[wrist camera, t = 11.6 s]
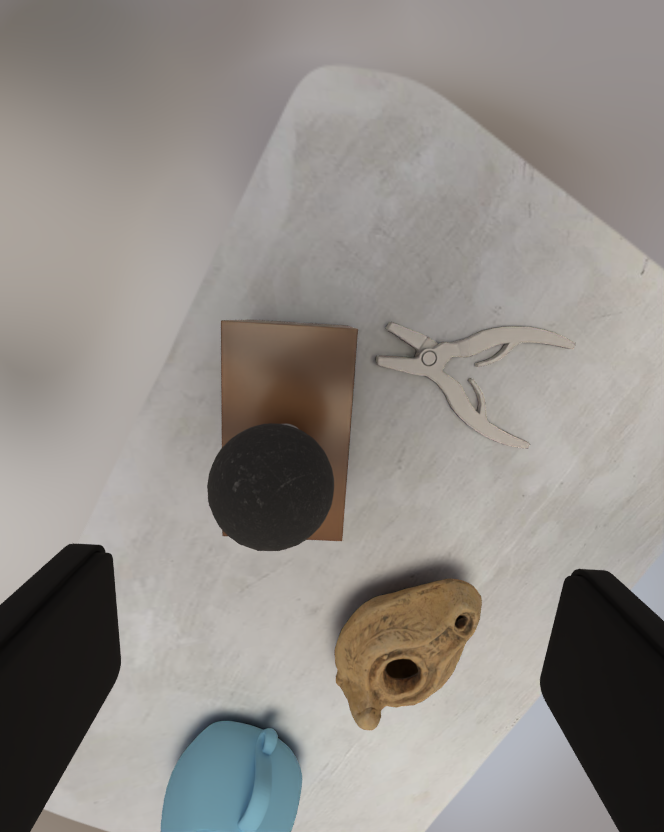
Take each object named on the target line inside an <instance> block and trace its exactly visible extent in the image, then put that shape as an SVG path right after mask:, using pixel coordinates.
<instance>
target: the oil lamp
mask: <svg viewBox="0 0 664 832" xmlns="http://www.w3.org/2000/svg"><path fill="white" fill-rule="evenodd" d="M481 606H482V600H481V596H480V594H479V593H478V591H477V590H476V589H475V587H474V586H472V585H471V584H469V583H467V582H465V581H463V580H458V579H444V580H439V581H435V582H431V583H427V584H423V585H419V586H415V587H411V588H407V589H403V590H400V591H397V592H394V593H390V594H385V595H380V596H377V597H374V598H372V599H370V600H369V601H367V602H365V603H364V604H363V605H361V606H360V607H359V608H358V609H357V610H356V611H355V612H354V613H353V615H352V616H351V617H350V618H349V620H348V621H347V623H346V624H345V625H344V627H343V629H342V630H341V633H340V635H339V638H338V640H337V644H336V647H335V663H336V667H337V669H338V671H337V675H336V683H337V685H338V686H340V688H341V689H342V691H343V692H344V695H345V697H346V698H347V700H348V703H349V707H350V711H351V713H352V716H353V718H354V720H355V722H356V723H357V725H358V726H359V727H360V728H362V729H364V730H374V729H375V728H376V727H377V725H378V723H379V721H380V718H381V710H382V709H383V708H384V707H385V706H390V707H400V706H409V705H415V704H417V703H420V702H422V701H424V700H425V699H427V698H428V697H429V696H430V695H432V694H433V693H435V692H436V691H437V690H439V689H440V688H441V687H442V686H443V685H444V684H445V683H446V682H447V680H448V679H449V678H450V676H451V675H452V673H453V672H454V670H455V668H456V665H457V663H458V661H459V659H460V656H461V654H462V651H463V649H464V646H465V644H466V642H467V641H468V639H469V638H470V637H471V636H472V635H473V634H474V632H475V630H476V628H477V625H478V623H479V620H480V613H481Z"/></svg>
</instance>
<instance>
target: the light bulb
mask: <svg viewBox="0 0 664 832" xmlns="http://www.w3.org/2000/svg"><path fill="white" fill-rule="evenodd" d="M207 488H208V502H209V506H210V508H211V510H212V513H213V515H214V518H215V520H216V521H217V523H218V525H219V527H220V528H221V529H222V530H223V531H224V532H225V534H227V535H228V536H229V537H230V538H232V539H233V540H235V541H236V542H237V543H239V544H241V545H243V546H246V547H249V548H252V549H255V550H257V551H280V550H284V549H287V548H290V547H293V546H296V545H299V544H300V543H302V542H303V541H305V540H306V539H308V538H309V537H311V536H312V535H313V534H314V533H315V532H316V531H317V530H318V528H319V527H320V526H321V525H322V523H323V522H324V520H325V519H326V516H327V514H328V512H329V510H330V508H331V505H332V501H333V494H334V476H333V470H332V467H331V464H330V462H329V460H328V457H327V455H326V453H325V451H324V450H323V449H322V447H321V446H320V445H319V444H318V443H317V442H316V440H315V439H314V438H312V437H311V436H309V435H308V434H306V433H305V432H304V431H302V430H300V429H298V428H297V427H296V426H293V425H291V424H272V423H269V424H261V425H257V426H254V427H250V428H248V429H246V430H244V431H242V432H240V433H239V434H237V435H236V436H234V437H233V438H231V439H230V440H229V441H228V442H227V443H226V444H225V445H224V446H223V447H222V449H221V450H220V452H219V453H218V455H217V456H216V458H215V460H214V462H213V464H212V467H211V470H210V474H209V479H208V485H207Z"/></svg>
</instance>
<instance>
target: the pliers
mask: <svg viewBox="0 0 664 832" xmlns="http://www.w3.org/2000/svg"><path fill="white" fill-rule="evenodd" d="M385 329H387V330H388V331H390V332H391V333H393V334H394V335H396V336H397V337H399V338H400V339H402V340H403V341H404V342H406V343H407V344H409V345H410V346H412V347H413V348H415V350H416V351H417V352H416V354H415V357H394V356H376V364H377V365H379V366H383V367H387V368H391V369H395V370H398V371H402V372H406V373H410V374H414V375H420V376H427V377H428V378H430V379H431V380H433V381H434V382H436V383H437V385H438V386H439V387H440V388H441V390H442V391H443V392H444V394H445V396H446V398H447V400H448V402H449V405H450V407H451V408H452V409H453V410H454V412H455V413H456V414H457V415H458V416H459V417H460V418H461V419H462V420H463V421H464V422H465V423H466V424H468V425H469V426H470V427H472V428H473V429H474V430H476V431H477V432H479V433H480V434H482V435H484V436H485V437H487V438H489V439H491V440H494V441H496V442H499V443H502V444H504V445H508V446H513V447H518V448H526V449H528V448H529V445H530V443H528V442H526V441H524V440H522V439H519V438H517V437H515V436H513V435H511V434H509V433H507V432H505V431H503V430H501V429H499V428H497V427H496V426H494V425H493V424H491V423H490V422H489V421H488V420H487V417H486V403H485V399H484V395H483V393H482V391H481V390H480V388H479V386H478V385H477V384H476V382H475V381H474V380H473V379H471V378H469V379H468V381H469V382H470V384H471V385H472V386H473V388H474V390H475V392H476V394H477V398H478V409H477V411H476V410H475V409H474V408H473V407H472V405H471V403H470V401H469V400H468V398H467V396H466V394H465V392H464V390H463V388H462V386H461V384H460V383H459V382H458V381H456V380H455V379H453V378H452V377H450V376H449V375H447V374H446V373H444V372H443V368H444V367H445V365H446V364H447V363H448V361H449V360H450V359H451V357H471V356H473V355H475V354H477V353H480V352H482V351H484V350H486V349H489V348H491V347H494V346H496V345H499V344H504V346H503V347H502V349H501V350H500V351H499V352H498V353H497V354H495V355H494V356H493V357H491V358H489V359H487V360H484V361H481V362H477V363H475V366H476V367H481V366H485V365H489V364H491V363H494V362H496V361H498V360H500V359H501V358H503V357H504V356H506V355H507V354H508V353H509V352H510V351H511V350H512V349H513V348H514V347H515V346H516V345H518V344H519V343H521V342H531V343H543V344H549V345H555V346H560V347H564V348H568V349H574V347H575V344H576V343H574V342H572V341H570V340H569V339H567V338H565V337H563V336H561V335H559V334H556V333H554V332H550V331H547V330H543V329H538V328H533V327H519V326H508V327H497V328H491V329H487V330H483V331H480V332H478V333H476V334H474V335H472V336H470V337H468V338H466V339H462V340H459V341H455V342H441V343H440V344H438V343H436V342H435V341H433V340H432V339H430V338H429V337H428V336H425V335H423V334H420V333H418V332H415V331H413V330H410V329H408V328H405V327H403V326H400V325H398V324H395V323H393V322H389V324H388V325H387V327H386V328H385Z"/></svg>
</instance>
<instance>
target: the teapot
mask: <svg viewBox="0 0 664 832" xmlns="http://www.w3.org/2000/svg"><path fill="white" fill-rule="evenodd" d="M301 787H302V773H301V768H300V766H299V763H298V761H297V759H296V757H295V755H294V753H293V752H292V750H291V749H290V748H289V747H288V746H287V745H286V744H285V743H284V742H282V741H281V740H280V739H278V735H277V733H276V731H275V730H274V729H272V728H267V729H264V730H263V729H260V728H258V727H255V726H251V725H248V724H244V723H239V722H234V721H219V722H215V723H213V724H211V725H209V726H208V727H207V728H206V729H205V730H203V731H202V732H201V733H200V734H199V735H198V736H197V737H196V738H195V739H194V741H193V742H192V743H191V744H190V745H189V746H188V747H187V749H186V750H185V751H184V753H183V754H182V755H181V757H180V759H179V760H178V762H177V764H176V766H175V768H174V770H173V772H172V774H171V777H170V779H169V783H168V786H167V789H166V794H165V798H164V804H163V810H162V820H161V832H291V830H292V827H293V825H294V821H295V818H296V814H297V809H298V805H299V800H300V794H301Z"/></svg>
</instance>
